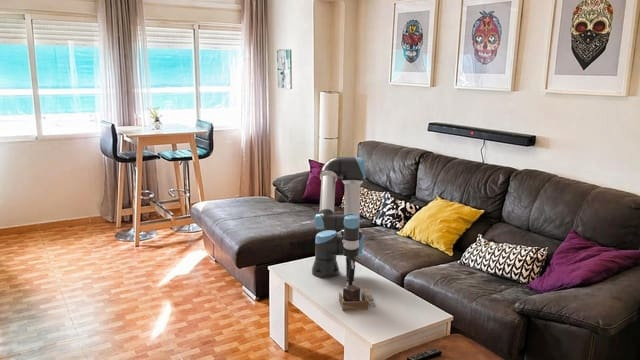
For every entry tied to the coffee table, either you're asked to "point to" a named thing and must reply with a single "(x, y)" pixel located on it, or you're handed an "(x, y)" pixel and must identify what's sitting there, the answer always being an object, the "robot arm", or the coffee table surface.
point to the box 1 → (351, 293)
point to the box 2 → (354, 303)
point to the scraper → (369, 298)
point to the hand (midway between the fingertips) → (349, 292)
